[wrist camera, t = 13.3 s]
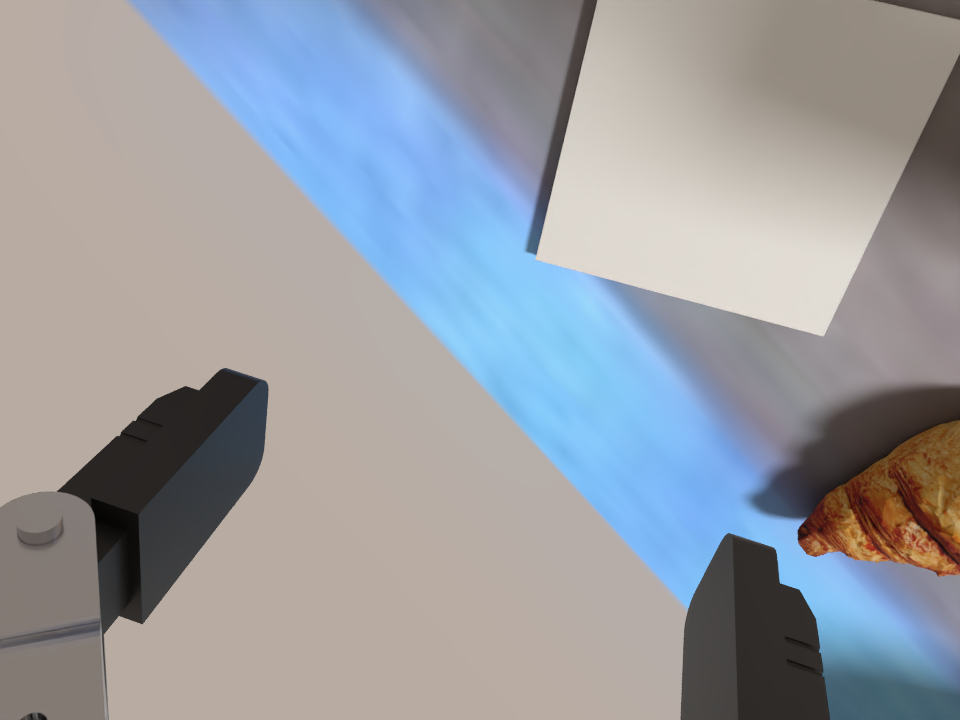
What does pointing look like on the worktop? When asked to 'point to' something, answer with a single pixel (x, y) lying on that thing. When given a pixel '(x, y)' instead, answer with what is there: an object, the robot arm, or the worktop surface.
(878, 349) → the worktop surface
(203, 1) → the worktop surface
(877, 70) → the mat
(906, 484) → the croissant
